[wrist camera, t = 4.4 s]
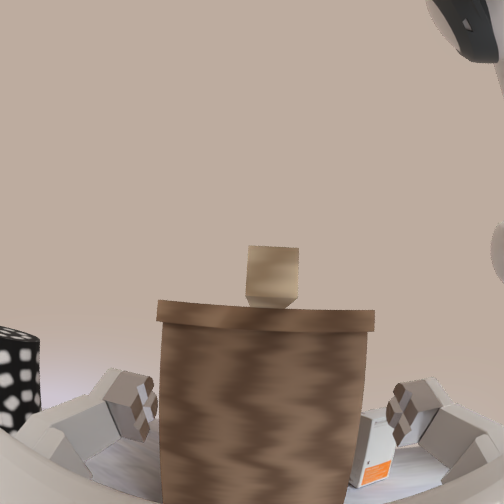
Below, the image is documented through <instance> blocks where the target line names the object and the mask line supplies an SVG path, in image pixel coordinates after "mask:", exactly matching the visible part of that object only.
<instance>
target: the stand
mask: <svg viewBox="0 0 504 504" xmlns="http://www.w3.org/2000/svg"><path fill="white" fill-rule="evenodd" d="M374 320H375V310H305V309H303V310H302V309H278V308H257V307H239V306H224V305H211V304H198V303H187V302H177V301H166V300H158V307H157V318H156V321H160V322H163V329H162V343H161V361H160V387H159V389H160V390H159V445H160V469H161V485H162V497H163V504H343V503H344V499H345V496H346V492H347V487H348V483H349V479H350V474H351V470H352V465H353V460H354V455H355V449H356V443H357V437H358V431H359V424H360V417H361V409H362V401H363V391H364V381H365V368H366V354H367V332H373V331H374V323H375V321H374Z"/></svg>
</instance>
